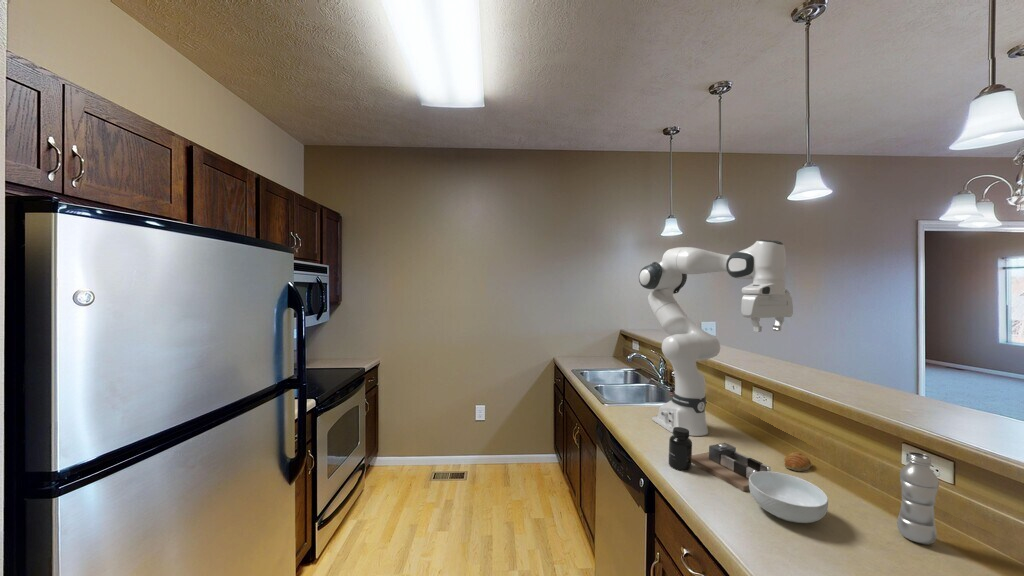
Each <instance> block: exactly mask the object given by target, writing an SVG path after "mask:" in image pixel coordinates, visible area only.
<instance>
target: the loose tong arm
mask: <svg viewBox="0 0 1024 576" xmlns="http://www.w3.org/2000/svg"><path fill="white" fill-rule="evenodd" d="M734 460H736V461H739V462H741V463H743V464H745V465H747V466H749V467H750V468H752V469H754V470H756V471H757V472H760V471H771V469H772V468H771V466H769V465H766V464H764V463H762V462H761V461H759V460H757V459H754V458H753V457H749V456H747V455H744V454H743V453H740V452H738V451H736V452H734ZM771 472H772V471H771Z"/></svg>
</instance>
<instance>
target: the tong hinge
mask: <svg viewBox="0 0 1024 576" xmlns="http://www.w3.org/2000/svg"><path fill="white" fill-rule="evenodd" d="M708 452H709V460H711V461H713V462H715V463H717V464H719V465H721V455H725V456H727V457H729V458H731V459H734V452H737V447H735V446H734V445H731V444H729V443H726V442H719V443H718V444H711V445H709V447H708Z"/></svg>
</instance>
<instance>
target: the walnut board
mask: <svg viewBox="0 0 1024 576" xmlns="http://www.w3.org/2000/svg"><path fill="white" fill-rule="evenodd" d="M691 464H693V465H694V464H695V465H694V466H696V467H698V468H700V469H701V470H703V469H704V470H703V471H705V472H707V473H709V474H710V475H713V476H715V477H716V478H718V479H720V480H721V481H723V482H725V483H727V484H729V485H730V486H733V488H734V487H735V489H738V490H740V491H741V492H747V491H750V489H749V479H748V478H745V477H743V476H741V475H740V474H738V473H736V472H734V471H733V470H731V469H729V468H727V467H725V466H723V465H719V464H717V463H715V462H713V461H711V460H709V451H708V452H702V453H699V454H694V455H693V454H692V460H691Z"/></svg>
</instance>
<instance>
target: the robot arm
mask: <svg viewBox="0 0 1024 576" xmlns="http://www.w3.org/2000/svg"><path fill="white" fill-rule="evenodd" d="M786 266H787V253H786V247H785V244H784V243H782V242H781V241H779V240H768V239H759V240H756V241H755V242H754V243H753V244H752V245H750V246H749V247H747V248H744V249H742V250H740V251H739V250H738V251H734V252H733V253H731V254H729V255H728V254H725V253H724V254H722V253H719V252H714V251H710V250H706V249H703V248H698V247H691V246H687V247H686V246H680V247H679V246H678V247H674V248H669V249H668V250H666V251H665V252H664V253H663V255H662V259H661V261H660V262H657V261H653V262H652V263H650V264H648V265H646V266H644V267H643V268H641V269H640V271H639V274H638V282H639V284H640V286H641V287H642V288H644V289H646V290H652V291H650V292H649V294H648V295H647V303H648V305H649V308H650V310H651V312H652V314H653V315H654V317H655V319H656V320H657V322H658V323H659V325H660V327H661V328H662V330H663V331H664V332H665V333H667V334H669V336H666V337H665V338H664V339H663V340H662V343H661V352H662V354H663V356H664V357H665V359H667V360H668V361H669V362H670V364H671V366H672V369H673V372H674V391H673V392H670V393H669V397H671V396H672V397H671V400H669V401H667V402H666V403H664V404H662V405H661V406H659V408H658V411H657V412H658V414H657V415H654V416H652V418H651V420H652V421H653V422H655V423H656V424H657V425H659V426H660V427H662V428H664V429H665V430H667V431H668V432H670V433H672V434H673V428H674V427H682V428H685V429H687V430H689V436H693V437H694V436H695V437H696V436H697V437H700V436H701V437H702V436H706V435H708V434H709V429H708V424H707V416H706V406H707V396H705V395H706V394H705V393H706V378H705V375H704V374H703V373H702V372H700V371H699V368H698V365H697V361H707V360H710V359H713V358H715V357H717V356H718V355H719V353H720V350H721V343H720V341H719V338H717V337H716V336H715V335H714V334H711V333H708V332H707V331H705V330H704V329H702V328H701V327H700V326H699V325H697V324H696V323H695V322H694V321H693V320H691V318H690V317H688V315H687V314H686V312H685V311H684V310H683V308H682V307H681V306H680V304H679V303H678V301H677V300H676V299H675V297H674V295H675V294H678V293H679V292H680V290H681V289H682V288H683V287H684V286H685V284H686V283H687V281H688V280H687V279H688V275H702V274H708V273H710V274H711V273H719V272H720V273H721V272H727V273H728V275H729V276H731V278H735V279H741V280H752V283H749V284H748V285H746V286H743V287H742V288H741V293H742V295H743V296H742V298H741V305H740V307H741V315H742V317H743V318H750V322H751V324H752V327H753V330H752V331H753V332H756V333H760V332H762V329H763V327H762V326H761V325H760V322H761V319H765V318H766V319H767V318H768V319H769V318H772V319H773V318H774V320H775V323H774V324H772V330H773V331H774V332H782V326H783V323H784V322H785V318H792V317H793V315H794V307H793V306H794V303H793V297H792V296H791V293H790V292H789V290H788V289H786V277H785V269H786V268H787V267H786Z"/></svg>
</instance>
